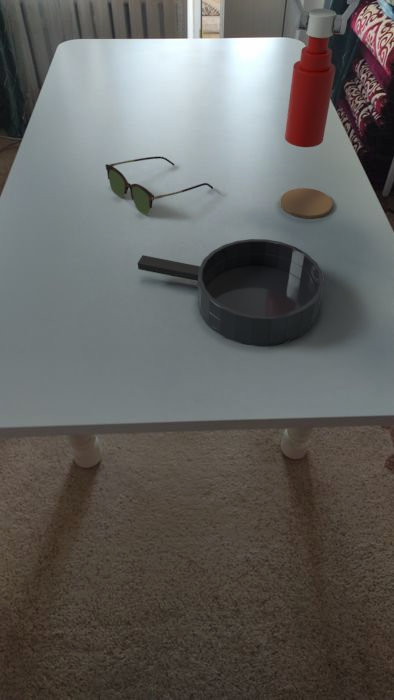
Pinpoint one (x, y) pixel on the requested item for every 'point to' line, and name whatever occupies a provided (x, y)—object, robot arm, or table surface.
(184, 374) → the table surface
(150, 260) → the pan handle
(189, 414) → the table surface
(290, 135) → the sauce bottle
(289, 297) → the pan
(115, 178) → the sunglasses
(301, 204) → the coaster
